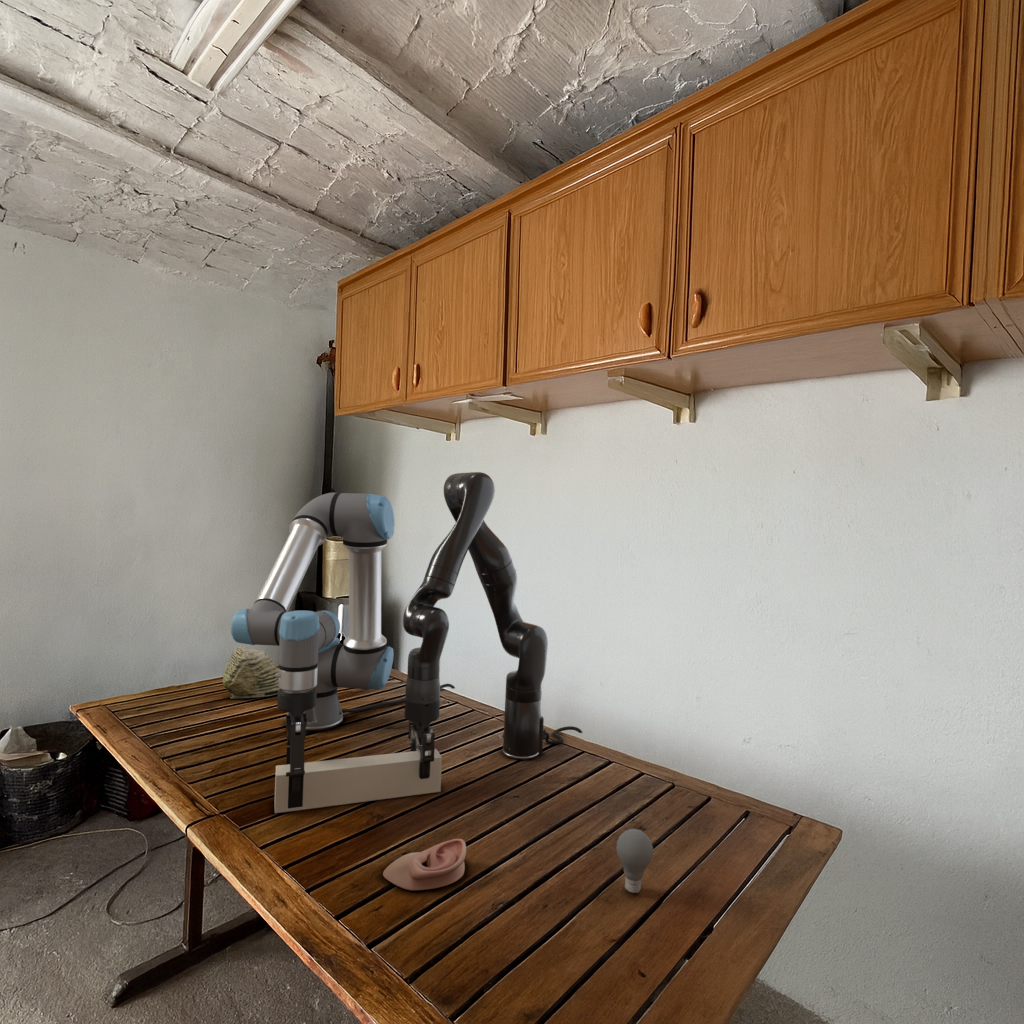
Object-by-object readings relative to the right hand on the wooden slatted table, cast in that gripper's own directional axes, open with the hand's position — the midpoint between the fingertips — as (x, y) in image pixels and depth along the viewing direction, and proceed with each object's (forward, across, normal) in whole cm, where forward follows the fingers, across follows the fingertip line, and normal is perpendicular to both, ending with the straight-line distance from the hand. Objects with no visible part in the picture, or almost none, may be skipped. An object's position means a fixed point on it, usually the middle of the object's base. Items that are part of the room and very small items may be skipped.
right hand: (419, 769), depth 139 cm
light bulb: (+4, +46, +26) cm, 53 cm away
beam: (+4, 0, -13) cm, 13 cm away
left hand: (+1, 0, -26) cm, 26 cm away
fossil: (+4, -77, -35) cm, 84 cm away
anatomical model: (+4, +30, -6) cm, 31 cm away
